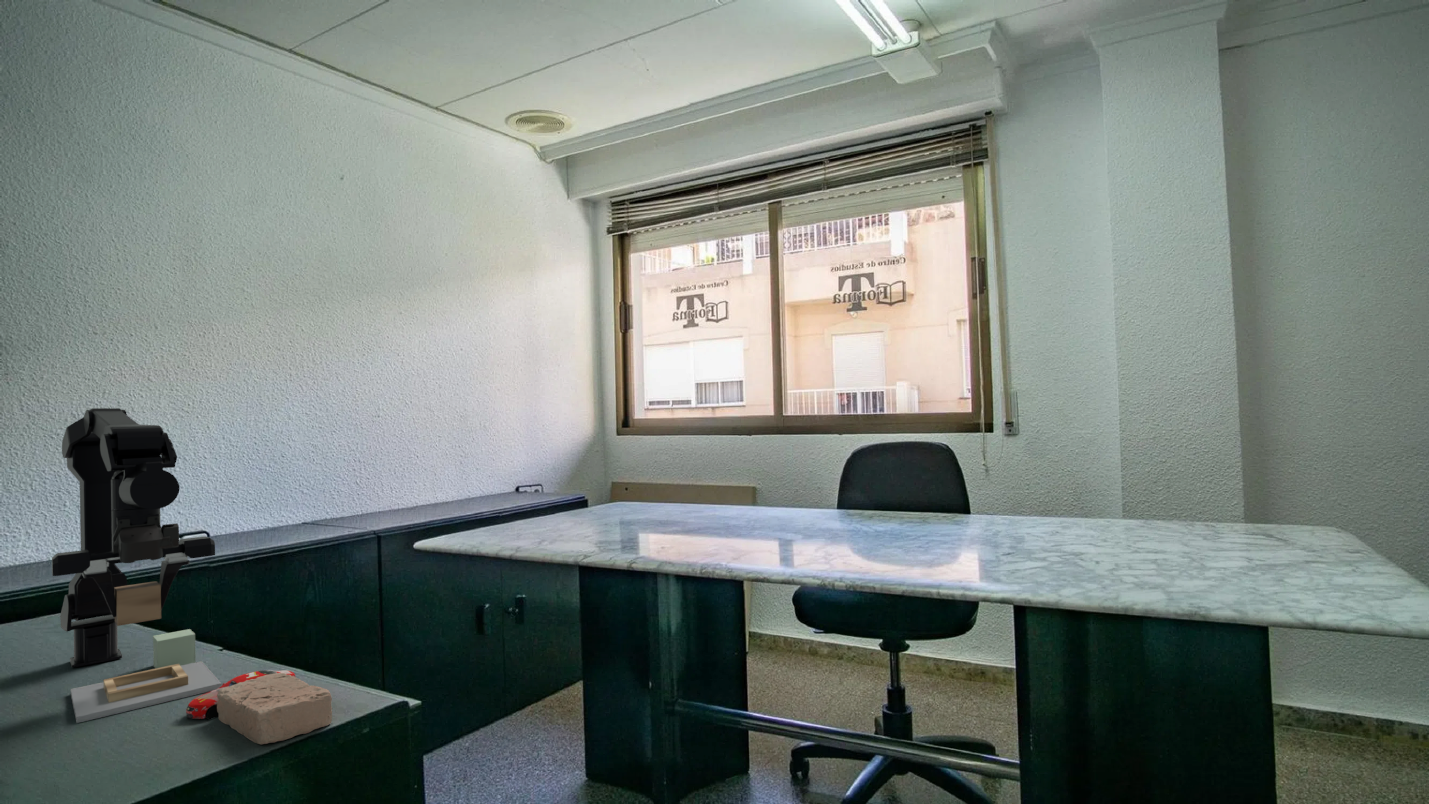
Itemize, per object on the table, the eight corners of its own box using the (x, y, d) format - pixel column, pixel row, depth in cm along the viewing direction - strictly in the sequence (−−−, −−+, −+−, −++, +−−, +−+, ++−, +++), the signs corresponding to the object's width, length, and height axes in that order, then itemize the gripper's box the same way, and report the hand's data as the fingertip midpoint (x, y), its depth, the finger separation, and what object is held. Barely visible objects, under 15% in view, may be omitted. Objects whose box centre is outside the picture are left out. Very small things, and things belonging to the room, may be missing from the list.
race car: (192, 727, 92) (192, 696, 92) (180, 718, 95) (179, 688, 95) (303, 694, 102) (302, 666, 102) (288, 687, 105) (287, 660, 105)
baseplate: (70, 694, 105) (70, 680, 105) (201, 665, 116) (201, 653, 116) (76, 723, 94) (76, 707, 94) (221, 688, 105) (221, 674, 105)
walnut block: (114, 621, 106) (114, 587, 106) (157, 613, 109) (156, 581, 110) (117, 625, 102) (117, 591, 103) (161, 618, 106) (160, 584, 106)
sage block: (153, 666, 118) (153, 635, 118) (190, 658, 121) (189, 628, 122) (157, 672, 114) (157, 641, 114) (195, 664, 118) (195, 634, 118)
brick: (213, 721, 93) (213, 685, 93) (283, 700, 100) (282, 666, 100) (261, 753, 83) (261, 713, 83) (335, 728, 90) (335, 690, 90)
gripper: (52, 518, 94) (54, 636, 94) (220, 503, 107) (223, 606, 107) (51, 515, 102) (52, 623, 102) (207, 501, 115) (209, 597, 115)
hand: (137, 612), depth 106 cm, fingers closed on walnut block, 5 cm apart
